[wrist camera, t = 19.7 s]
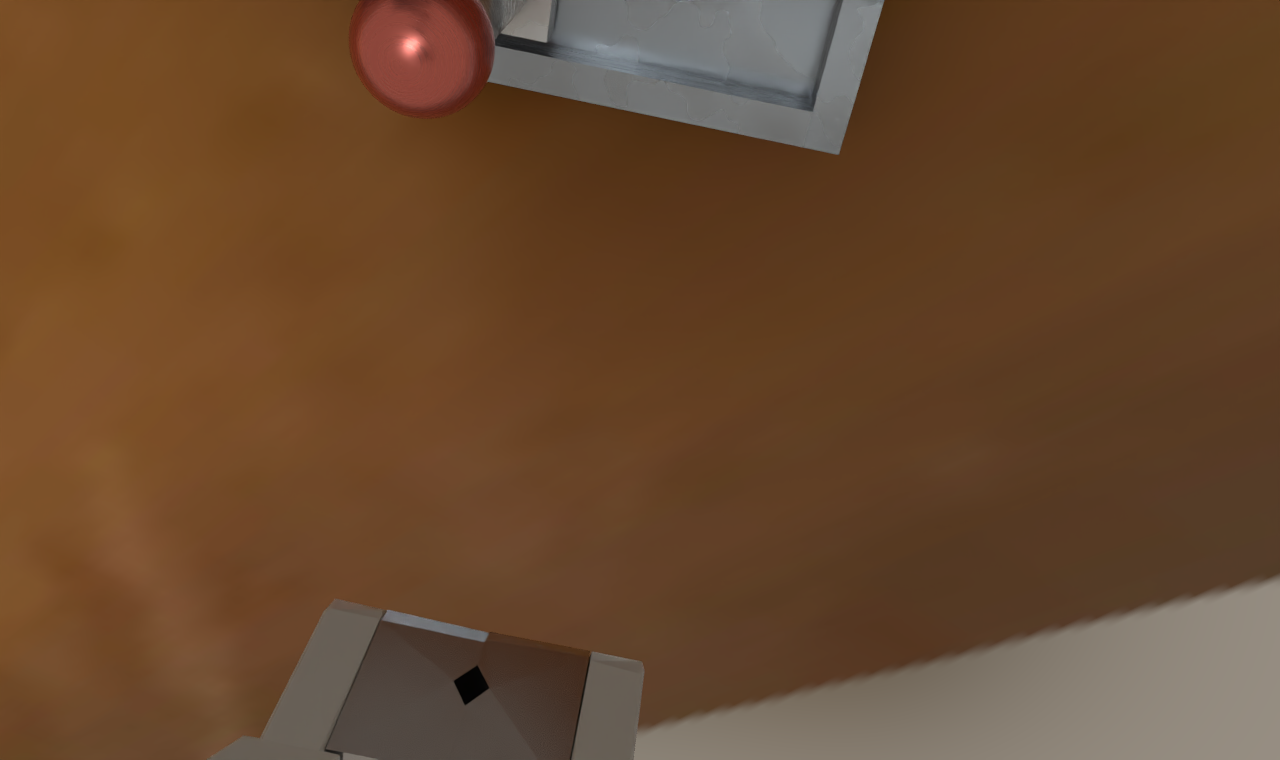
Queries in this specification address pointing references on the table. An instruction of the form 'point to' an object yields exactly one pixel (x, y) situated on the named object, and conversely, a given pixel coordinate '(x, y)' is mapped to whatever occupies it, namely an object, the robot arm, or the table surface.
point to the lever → (437, 48)
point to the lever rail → (706, 62)
